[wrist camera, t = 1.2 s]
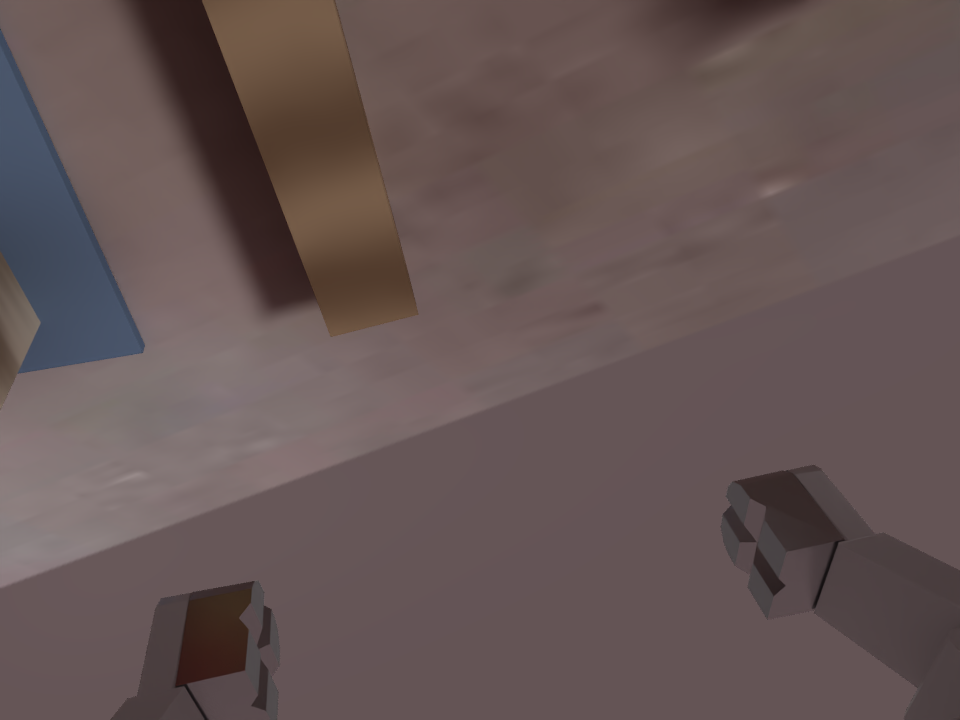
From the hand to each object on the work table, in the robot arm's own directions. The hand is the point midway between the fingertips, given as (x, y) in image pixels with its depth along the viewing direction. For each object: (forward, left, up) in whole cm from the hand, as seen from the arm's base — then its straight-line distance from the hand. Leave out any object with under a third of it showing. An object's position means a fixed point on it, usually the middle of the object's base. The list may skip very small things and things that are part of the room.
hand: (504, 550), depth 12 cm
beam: (-1, -3, -23) cm, 23 cm away
